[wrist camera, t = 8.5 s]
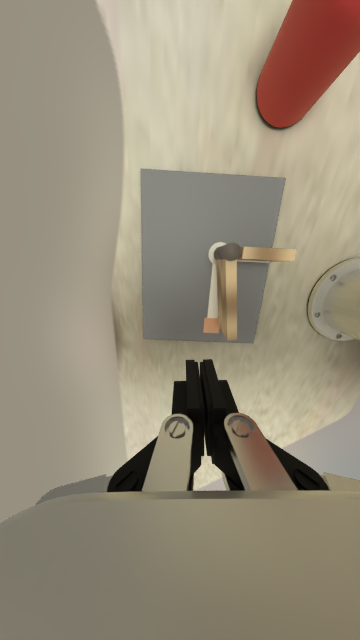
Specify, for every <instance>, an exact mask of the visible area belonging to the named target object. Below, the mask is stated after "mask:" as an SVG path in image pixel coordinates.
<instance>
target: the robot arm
mask: <svg viewBox="0 0 360 640" xmlns="http://www.w3.org/2000/svg"><path fill="white" fill-rule="evenodd" d="M308 316H309V320H310V323H311V325H312V326H313V328H314V329H315V330H316V331H317V332H318V333H320V334H321V335H323V336H325V337H327V338H329V339H332V340H337V341H349V340H354V339H357V340H359V341H360V257H359V258H353V259H349V260H346V261H344V262H341V263H339V264H337V265H336V266H334V267H333V268H331V269H330V270H329V271H328V272H326V273H325V274H324V275H323V276H322V277H321V279H320V280H319V281H318V282H317V284H316V285H315V287H314V289H313V291H312V293H311V296H310V298H309V303H308ZM204 434H205V442H206V450H207V456H211V458H212V464H215V465H216V466H217V467H218V468H219V469H220V470H221V471H222V477H223V480H224V484H225V487H226V490H227V491H193V485H194V473H195V472H196V470H197V469H198V468H199V467H200V466H201V456H204ZM0 640H360V480H355V479H351V478H346V477H342V476H337V475H333V474H329V473H323V475H319V474H318V473H317V472H316V471H315V470H313V469H312V468H311V467H309V466H308V465H306V464H304V463H303V462H301V461H300V460H298V459H296V458H295V457H294V456H292V455H290V454H289V453H287V452H286V451H284V450H283V449H281V448H279V447H278V446H276V445H275V444H273V443H272V442H270V441H269V440H267V439H265V437H264V436H263V434H262V432H261V431H260V429H259V428H258V426H257V424H256V423H255V422H254V420H253V419H251V418H250V417H249V416H247V415H245V414H242V413H239V412H238V409H237V406H236V404H235V401H234V398H233V396H232V393H231V390H230V387H229V385H228V382H227V380H218V378H217V375H216V371H215V368H214V364H213V361H212V359H209V360H203V362H200V375H199V368H198V362H194V360H186V381H174V390H173V403H172V415H170V416H169V417H167V418H166V419H165V420H164V421H163V423H162V425H161V429H160V432H159V435H158V436H157V437H156V438H155V439H154V440H153V441H152V442H150V443H149V444H148V445H147V446H146V447H144V448H143V449H142V450H141V451H140V452H138V453H137V454H136V455H135V456H134V457H132V458H131V459H130V460H129V461H128V462H126V463H125V464H124V465H123V466H122V467H120V468H119V469H118V470H117V471H116V472H115V473H114V475H113V476H109V477H107V476H106V474H105V475H101V476H98V477H94V478H90V479H86V480H83V481H79V482H76V483H71V484H68V485H64V486H60V487H57V488H55V489H53V490H50V491H49V492H48V493H46V494H45V495H44V496H42V497H41V499H40V500H39V501H38V502H37V503H36V504H35V505H34V506H32V507H29V508H27V509H25V510H23V511H21V512H19V513H17V514H15V515H13V516H12V517H10V518H8V519H6V520H5V521H3V522H2V523H0Z"/></svg>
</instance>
